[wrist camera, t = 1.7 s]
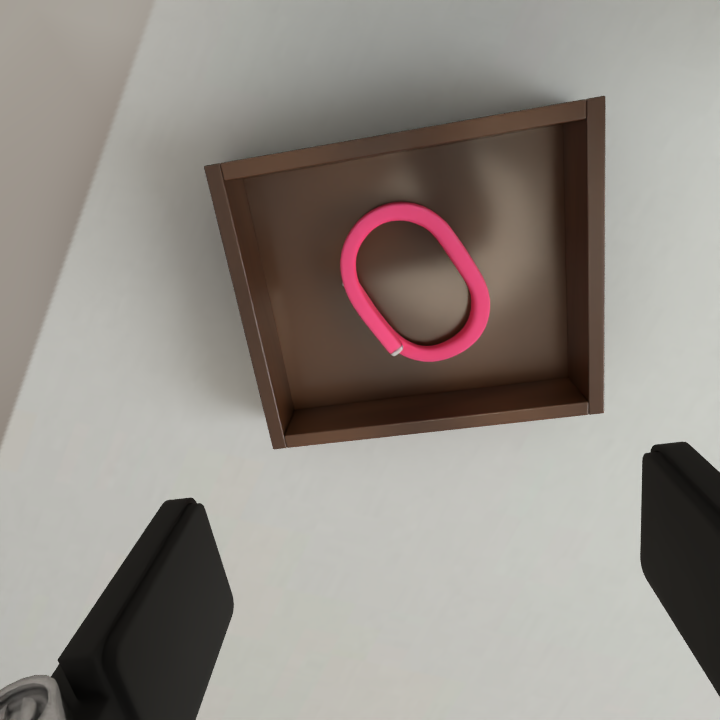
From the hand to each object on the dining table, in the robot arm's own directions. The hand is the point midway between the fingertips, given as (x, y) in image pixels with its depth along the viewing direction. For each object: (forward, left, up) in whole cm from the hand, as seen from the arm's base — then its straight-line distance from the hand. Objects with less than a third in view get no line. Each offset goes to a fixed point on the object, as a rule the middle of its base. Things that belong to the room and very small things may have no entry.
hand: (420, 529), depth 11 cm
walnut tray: (-1, -2, -17) cm, 17 cm away
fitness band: (-1, -2, -16) cm, 16 cm away
